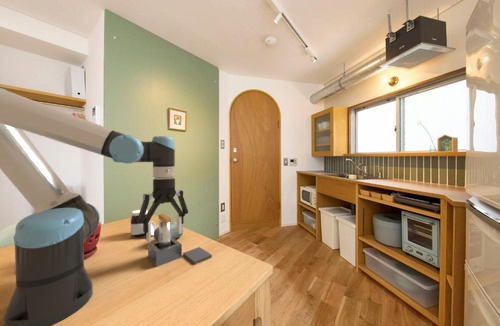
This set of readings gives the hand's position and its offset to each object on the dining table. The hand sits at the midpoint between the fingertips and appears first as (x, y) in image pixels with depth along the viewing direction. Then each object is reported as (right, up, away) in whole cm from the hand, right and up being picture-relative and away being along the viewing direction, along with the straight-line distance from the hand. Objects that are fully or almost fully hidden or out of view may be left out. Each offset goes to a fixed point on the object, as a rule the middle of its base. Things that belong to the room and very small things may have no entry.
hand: (164, 236), depth 71 cm
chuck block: (0, -8, 0) cm, 8 cm away
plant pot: (-33, -8, +1) cm, 34 cm away
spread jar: (-20, -8, +22) cm, 31 cm away
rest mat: (+12, -8, +1) cm, 14 cm away
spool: (-5, -8, +15) cm, 18 cm away
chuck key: (0, -8, 0) cm, 8 cm away
